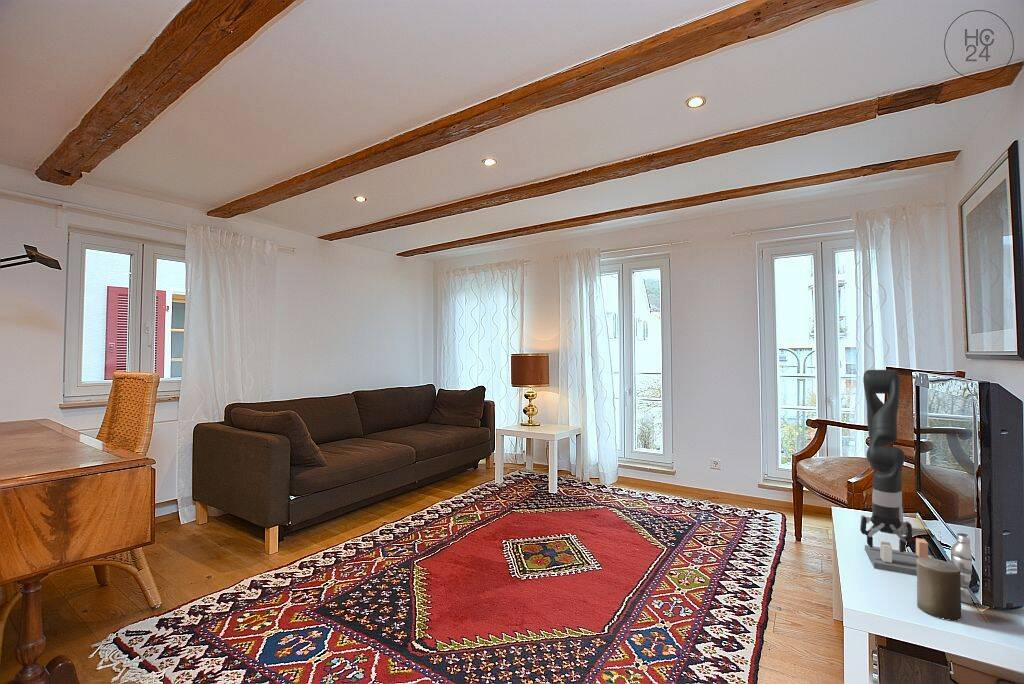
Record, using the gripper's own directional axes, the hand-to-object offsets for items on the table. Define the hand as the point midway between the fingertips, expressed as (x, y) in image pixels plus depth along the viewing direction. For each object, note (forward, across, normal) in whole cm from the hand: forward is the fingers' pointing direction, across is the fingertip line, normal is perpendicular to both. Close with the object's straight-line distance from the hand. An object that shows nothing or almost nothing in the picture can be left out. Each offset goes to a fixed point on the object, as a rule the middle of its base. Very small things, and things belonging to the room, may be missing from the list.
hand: (885, 549), depth 164 cm
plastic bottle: (+6, -16, +16) cm, 24 cm away
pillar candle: (+7, -7, +27) cm, 29 cm away
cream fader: (+4, 0, 0) cm, 4 cm away
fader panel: (+6, -6, -5) cm, 10 cm away
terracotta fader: (+4, -12, -9) cm, 16 cm away
